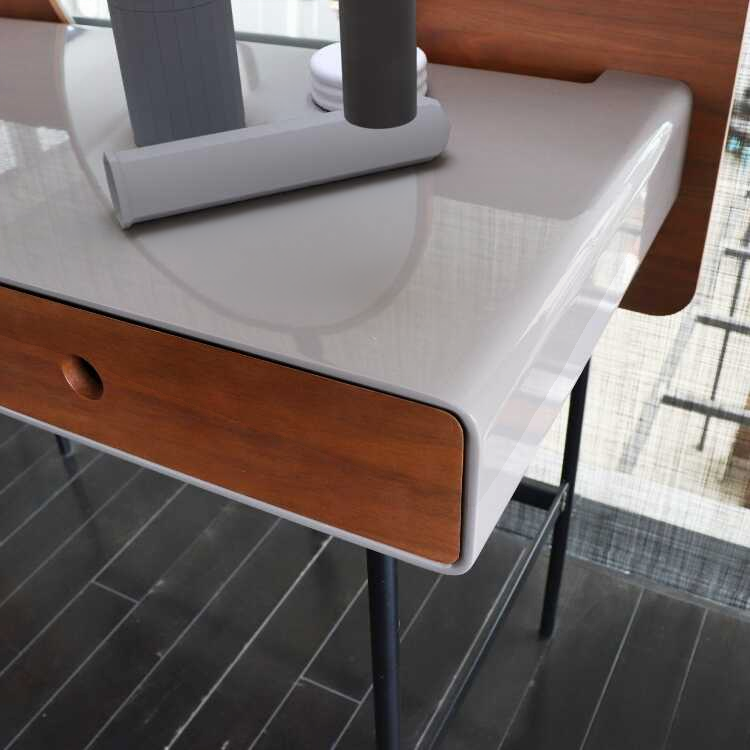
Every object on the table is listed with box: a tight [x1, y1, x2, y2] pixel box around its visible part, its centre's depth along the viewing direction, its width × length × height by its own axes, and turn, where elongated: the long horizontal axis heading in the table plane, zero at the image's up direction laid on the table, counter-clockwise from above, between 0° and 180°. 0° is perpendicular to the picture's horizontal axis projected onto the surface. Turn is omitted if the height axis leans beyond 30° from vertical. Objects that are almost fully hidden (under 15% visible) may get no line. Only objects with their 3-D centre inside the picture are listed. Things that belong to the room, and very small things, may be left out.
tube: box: [102, 95, 452, 230], centre depth 71 cm, size 5×5×25 cm
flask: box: [106, 0, 247, 148], centre depth 77 cm, size 9×9×14 cm
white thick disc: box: [308, 41, 428, 112], centre depth 85 cm, size 10×10×4 cm
